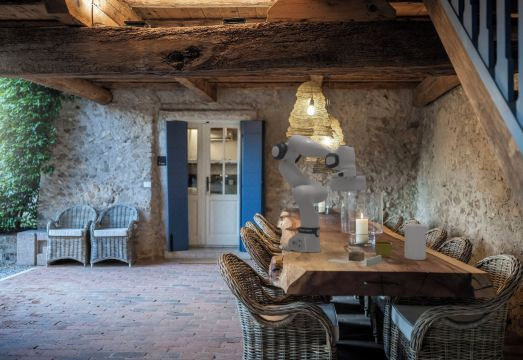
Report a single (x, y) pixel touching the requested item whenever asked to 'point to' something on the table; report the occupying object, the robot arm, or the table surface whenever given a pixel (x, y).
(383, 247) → the flower pot
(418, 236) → the cup
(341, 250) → the table surface
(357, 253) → the walnut block
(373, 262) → the trap deck
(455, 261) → the table surface
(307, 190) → the robot arm
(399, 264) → the table surface
